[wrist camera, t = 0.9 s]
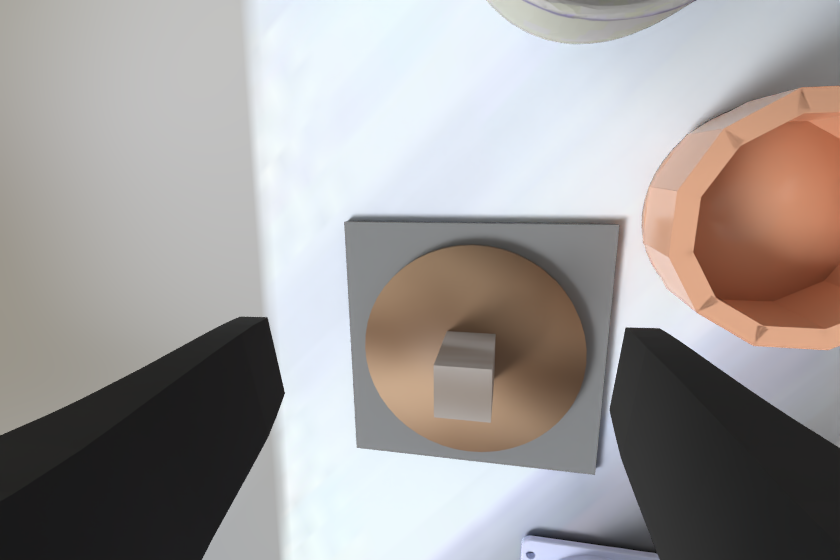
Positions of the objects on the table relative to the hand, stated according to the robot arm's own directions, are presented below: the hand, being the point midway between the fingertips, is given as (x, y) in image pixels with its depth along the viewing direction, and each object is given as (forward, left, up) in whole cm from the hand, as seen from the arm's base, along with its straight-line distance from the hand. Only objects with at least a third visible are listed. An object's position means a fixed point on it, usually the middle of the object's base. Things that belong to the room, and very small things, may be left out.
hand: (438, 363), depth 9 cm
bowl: (+2, -12, -13) cm, 18 cm away
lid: (-5, 0, -13) cm, 14 cm away
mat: (-5, 0, -13) cm, 14 cm away
